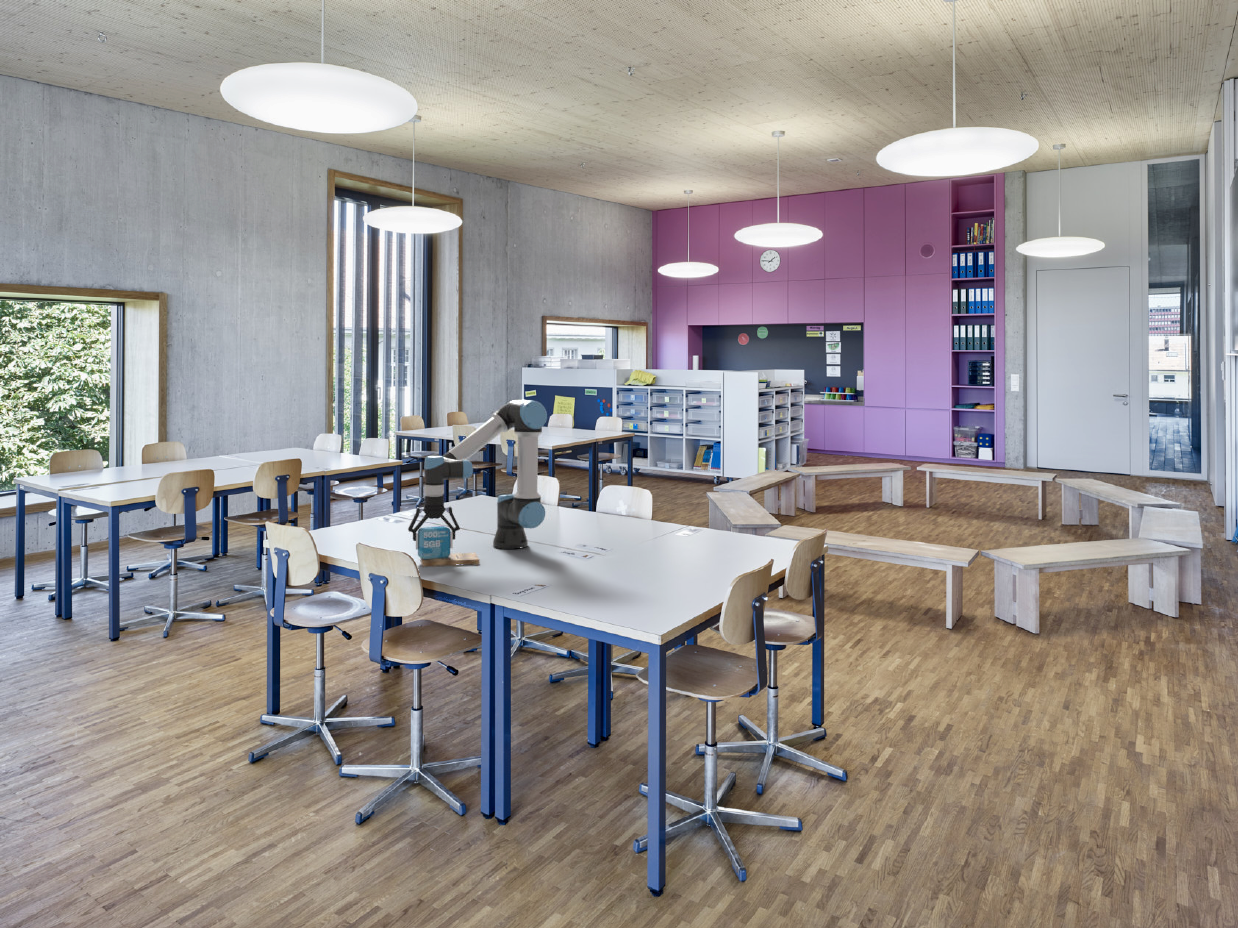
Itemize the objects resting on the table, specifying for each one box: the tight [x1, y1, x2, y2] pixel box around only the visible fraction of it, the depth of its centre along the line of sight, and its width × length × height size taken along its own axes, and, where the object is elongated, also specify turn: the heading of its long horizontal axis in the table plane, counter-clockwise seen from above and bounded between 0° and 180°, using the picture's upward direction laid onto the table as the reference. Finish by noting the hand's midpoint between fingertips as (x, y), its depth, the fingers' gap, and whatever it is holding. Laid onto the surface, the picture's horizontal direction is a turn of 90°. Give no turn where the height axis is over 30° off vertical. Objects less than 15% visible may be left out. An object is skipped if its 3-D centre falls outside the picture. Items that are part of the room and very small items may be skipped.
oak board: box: [419, 552, 480, 567], centre depth 333 cm, size 22×13×2 cm, turn 107°
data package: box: [417, 525, 452, 559], centre depth 331 cm, size 12×4×12 cm, turn 123°
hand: (434, 548), depth 331 cm, fingers closed on data package, 13 cm apart
